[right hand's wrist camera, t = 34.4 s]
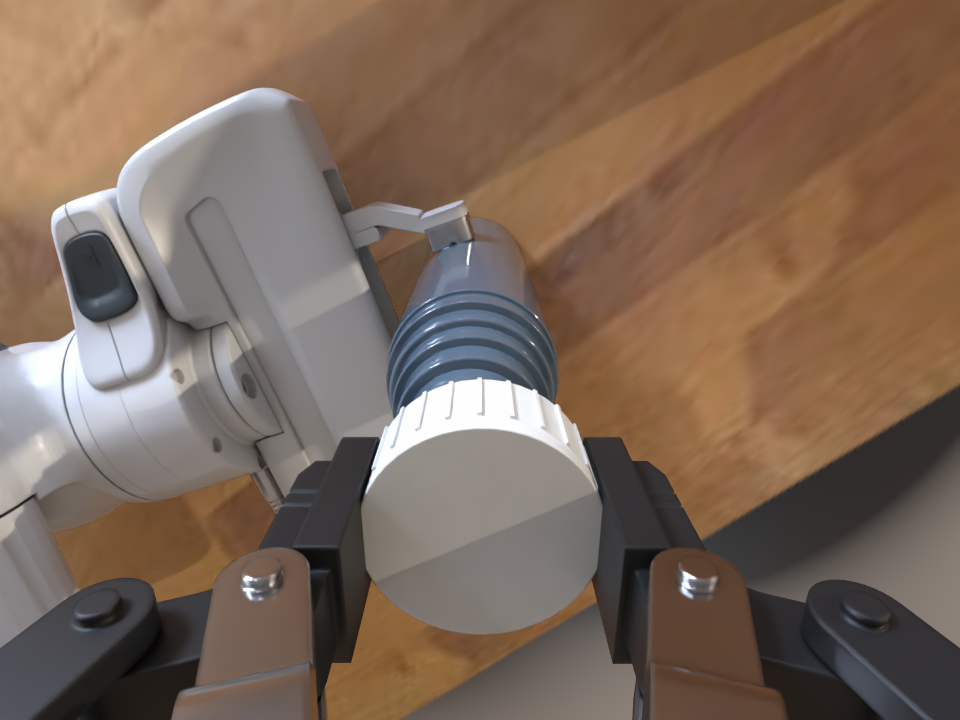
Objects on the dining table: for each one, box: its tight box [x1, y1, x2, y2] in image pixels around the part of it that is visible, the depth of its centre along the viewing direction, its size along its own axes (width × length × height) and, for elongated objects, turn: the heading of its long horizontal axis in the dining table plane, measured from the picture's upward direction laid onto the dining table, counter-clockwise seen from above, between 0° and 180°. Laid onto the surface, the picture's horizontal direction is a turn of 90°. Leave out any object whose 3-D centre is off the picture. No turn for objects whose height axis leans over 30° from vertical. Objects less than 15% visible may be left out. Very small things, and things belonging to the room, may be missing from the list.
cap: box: [361, 378, 602, 634], centre depth 11 cm, size 4×4×2 cm
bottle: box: [386, 218, 558, 420], centre depth 21 cm, size 5×5×21 cm
